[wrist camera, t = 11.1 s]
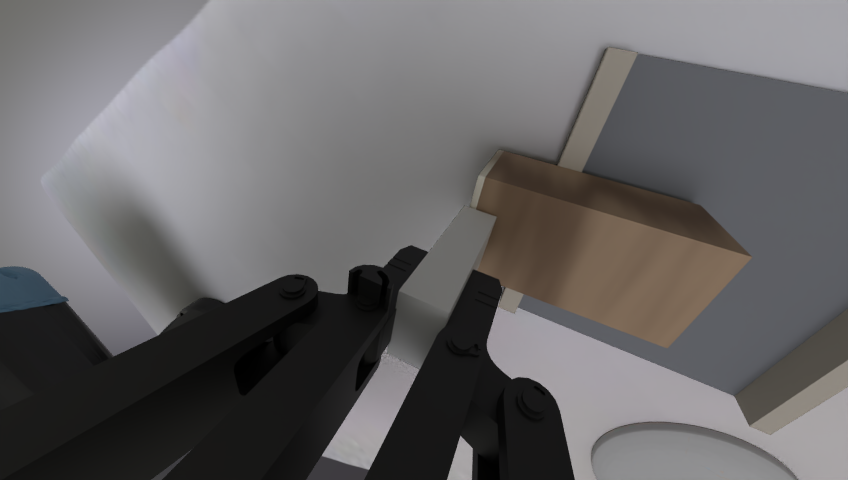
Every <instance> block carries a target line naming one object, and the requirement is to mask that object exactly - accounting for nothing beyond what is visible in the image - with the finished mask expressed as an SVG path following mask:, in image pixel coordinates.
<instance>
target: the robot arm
mask: <svg viewBox="0 0 848 480" xmlns="http://www.w3.org/2000/svg"><path fill="white" fill-rule="evenodd" d="M496 218H497V217H496V216H493V215H490V214H487V213H484V212H481V211H479V210H476V209H473V208H470V207H467V206H464V207H463V208H462V210H461V211H460V212H459V214H458V215H457V216H456V217H455V219H454V220H453V221H452V223H451V224H450V225H449V226H448V228H447V229H446V230H445V232H444V233H443V234H442V235H441V237H440V238H439V239H438V241H437V242H436V243H435V245H434V246H433V247H432V248H431V250H430V251H429V252H427V251H424V250H422V249H419V248H417V247H414V246H412V245H410V246H408V247H406V248H403V249H401V250H399V252H398V253H397V254H396V255H395V256H394V257H393V258H392V259H391V260H390V261H389V262H388V264H386V265H385V266H384V267H383V268H382V267H378V266H375V265H362V266H357V267H355V268H353V269H351V270H350V271H349V280H348V293H347V294H333V293H327V292H322V291H318V285H317V283H316V282H315V281H314V279H312V278H310V277H308V276H305V275H299V274H296V275H287V276H284V277H281V278H278V279H276V280H274V281H272V282H270V283H268V284H266V285H264V286H262V287H259V288H257V289H255V290H253V291H251V292H249V293H247V294H245V295H243V296H241V297H238V298H236V299H234V300H232V301H230V302H228V303H226V304H222V303H220V302H218V301H216V300H213V299H208V298H202V299H199V300H197V301H195V302H194V303H192V304H190V305H189V306H187V307H186V308H184V309H183V310H182V311H181V312H180V313H179V314H178V315H177V318H176V319H175V320H174V321H173V322H172V323H170V324H169V325H168V326H167V327H166V328H165V329H164V330H163V331H162V332H161V333H160V335H158V336H156V337H154V338H152V339H150V340H148V341H146V342H144V343H142V344H139V345H137V346H135V347H133V348H131V349H129V350H127V351H125V352H123V353H120V354H118V355H117V356H113V355H112V353H110V351H109V350H108V349H107V348H106V347H105V346H104V344H103V343H102V342H101V341H100V340H99V339H98V338H97V336H96V335H95V334H94V333H93V332H92V331H91V330H90V329H89V327H88V326H87V325H86V324H85V323H84V322H83V321H82V320H81V318H80V317H79V316H78V315H77V314H76V313H75V312H74V310H73V309H72V308H71V307H70V306H69V305H68V304H67V302H66V301H69V300H68V298H66V297H63V296H61V295H60V294H59V293H58V292H57V291H56V290H55V289H54V288H53V287H52V286H51V285H50V284H49V283H48V282H47V281H46V280H45V279H44V278H43V277H42V276H41V275H40V274H39V273H37V272H36V271H34V270H31V269H28V268H24V267H15V266H14V267H13V266H12V267H2V268H0V480H151V479H152V478H154V477H155V476H156V475H158V474H159V473H160V472H162V471H163V470H164V469H166V468H167V467H169V466H170V465H171V464H173V463H174V462H175V461H177V460H178V459H179V458H181V457H182V456H183V455H185V454H186V453H187V452H188V451H190V450H191V449H192V450H191V451H190V452H189V453H188V454H187V455H186V456H185V457H184V458H183V459H182V460H181V461H180V463H178V464H177V465H176V466H175V467H174V468H173V469H172V470H171V471H170V472H169V473H168V474H167V476H166V477H164V478H163V479H162V480H306V479H307V477H308V476H309V474H310V473H311V471H312V470H313V468H314V466H315V465H316V463H317V462H318V460H319V459H320V457H321V456H322V454H323V452H324V451H325V449H326V448H327V446H328V445H329V443H330V441H331V440H332V438H333V437H334V435H335V434H336V432H337V431H338V429H339V427H340V426H341V424H342V423H343V421H344V420H345V418H346V416H347V415H348V413H349V412H350V410H351V409H352V407H353V406H354V404H355V402H356V401H357V399H358V398H359V396H360V395H361V393H362V391H363V390H364V388H365V387H366V385H367V384H368V382H369V381H370V379H371V377H372V376H373V374H374V373H375V371H376V370H377V368H378V366H379V363H380V360H381V355H382V353H383V352H384V350H385V348H386V347H387V345H388V344H389V345H388V350H387V353H388V354H390V355H392V356H394V357H396V358H398V359H400V360H402V361H404V362H406V363H408V364H410V365H412V366H414V367H416V368H418V369H420V370H419V372H418V374H417V376H416V378H415V380H414V382H413V384H412V386H411V388H410V390H409V392H408V394H407V396H406V398H405V400H404V402H403V404H402V406H401V408H400V410H399V412H398V414H397V416H396V418H395V420H394V422H393V424H392V426H391V428H390V430H389V432H388V434H387V436H386V438H385V440H384V442H383V444H382V446H381V448H380V450H379V452H378V454H377V456H376V458H375V460H374V462H373V464H372V466H371V467H370V469H369V471H368V474H367V476H366V477H365V480H447V478H448V474H449V471H450V468H451V464H452V461H453V458H454V455H455V451H456V448H457V445H458V441H459V438H460V436H461V437H462V438H463V439H464V440H465V441H466V442H467V443H468V444H469V445H470V446H471V447H472V448H473V465H472V480H575V478H574V474H573V469H572V465H571V460H570V455H569V451H568V446H567V442H566V437H565V432H564V428H563V423H562V419H561V414H560V410H559V408H558V405H557V403H556V400H555V399H554V397H553V396H552V395H551V393H550V392H549V391H548V390H547V389H546V388H545V387H543V386H542V385H541V384H540V383H538V382H536V381H534V380H531V379H529V378H521V377H518V378H515V379H511V378H510V377H508V376H507V375H506V374H505V373H504V372H502V371H501V370H500V369H499V368H498V367H497V366H496V365H495V364H494V362H493V361H492V360H491V358H490V356H489V354H488V351H487V339H488V335H489V332H490V329H491V326H492V322H493V319H494V316H495V312H496V309H497V306H498V303H499V299H500V296H501V293H502V287H501V284H500V280H499V279H497V278H494V277H492V276H489V275H487V274H484V273H482V272H479V271H477V270H478V267H479V265H480V262H481V260H482V257H483V254H484V251H485V248H486V246H487V243H488V240H489V237H490V235H491V232H492V229H493V226H494V223H495V221H496Z"/></svg>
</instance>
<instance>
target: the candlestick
mask: <svg viewBox="0 0 848 480" xmlns="http://www.w3.org/2000/svg"><path fill="white" fill-rule="evenodd" d="M592 468H593V471H594V474H595V477H596V479H597V480H798V479H797V478H796V477H795V475H794V474H793V473H792V472H791V471H790V470H789V469H788V468H787V467H786V466H785V465H783V464H782V463H781V462H780V461H778V460H777V459H776V458H774V457H773V456H771V455H770V454H768V453H766V452H765V451H763V450H761V449H759V448H758V447H756V446H754V445H752V444H750V443H747V442H745V441H743V440H740V439H738V438H735V437H733V436H730V435H727V434H724V433H721V432H718V431H714V430H711V429H706V428H702V427H697V426H692V425H686V424H678V423H666V422H648V423H637V424H631V425H626V426H622V427H619V428H616V429H614V430H611V431H609V432H608V433H606V434H604V435H603V436H602V437H601V438H599V440H598V441H597V442H596V443H595V445H594V447H593V450H592Z"/></svg>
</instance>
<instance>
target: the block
mask: <svg viewBox="0 0 848 480" xmlns="http://www.w3.org/2000/svg"><path fill="white" fill-rule="evenodd" d="M470 208H473V209H476V210H479V211H481V212H484V213H487V214H490V215H493V216H496V217H497V218H496V221H495V223H494V226H493V229H492V232H491V235H490V237H489V240H488V243H487V246H486V248H485V251H484V254H483V257H482V260H481V262H480V265H479V267H478V270H477V271H479V272H482V273H484V274H487V275H489V276H492V277H494V278H497V279H499V280H500V284H501V286H504V287H506V288H509V289H511V290H514V291H517V292H519V293H522V294H525V295H527V296H530V297H533V298H535V299H538V300H541V301H543V302H546V303H548V304H551V305H554V306H556V307H559V308H562V309H564V310H567V311H570V312H572V313H575V314H578V315H580V316H583V317H585V318H588V319H591V320H593V321H596V322H599V323H601V324H604V325H607V326H609V327H612V328H615V329H617V330H620V331H622V332H625V333H628V334H630V335H633V336H636V337H638V338H641V339H644V340H646V341H649V342H652V343H654V344H657V345H659V346H662V347H665V348H668V347H669V346H670V345H671V344H672V343H673V342H674V341H675V340H676V339H677V338H678V337H679V336H680V334H681V333H682V332H683V331H684V330H685V329H686V328H687V327H688V326H689V325H690V324H691V323H692V322H693V320H694V319H695V318H696V317H697V316H698V315H699V314H700V313H701V312H702V311H703V310H704V309H705V308H706V307H707V305H708V304H709V303H710V302H711V301H712V300H713V299H714V298H715V297H716V296H717V295H718V294H719V293H720V292H721V290H722V289H723V288H724V287H725V286H726V285H727V284H728V283H729V282H730V281H731V280H732V279H733V278H734V277H735V275H736V274H737V273H738V272H739V271H740V270H741V269H742V268H743V267H744V266H745V265H746V264H747V263H748V261H749V260H750V259H751V258H752V256H751V255H750V254H749V253H748V252H747V251H746V250H745V249H744V248H743V247H742V246H741V245H740V244H739V243H738V242H737V241H736V240H735V239H734V238H733V237H732V236H731V235H730V234H729V233H728V232H727V231H726V230H725V229H724V228H723V227H722V226H721V225H720V224H719V223H718V222H717V221H716V220H715V219H714V218H713V217H712V216H711V215H710V214H709V213H708V212H707V211H706V210H705V209H704V208H703V207H702V206H701V205H698V204H694V203H691V202H687V201H684V200H680V199H676V198H673V197H669V196H665V195H662V194H658V193H655V192H651V191H647V190H644V189H640V188H636V187H633V186H629V185H626V184H622V183H618V182H615V181H611V180H607V179H604V178H600V177H597V176H593V175H589V174H586V173H582V172H578V171H575V170H571V169H568V168H564V167H560V166H557V165H553V164H549V163H546V162H542V161H538V160H535V159H531V158H528V157H524V156H520V155H517V154H513V153H509V152H506V151H502V150H498V151H497V152H496V154H495V155H494V156H493V157H492V159H491V160H490V161H489V162H488V164H487V165H486V166H485V168H484V169H483V170H482V171H481V173H480V174H479V175H478V179H477V182H476V186H475V189H474V193H473V197H472V200H471V204H470Z"/></svg>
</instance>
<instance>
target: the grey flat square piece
mask: <svg viewBox="0 0 848 480" xmlns="http://www.w3.org/2000/svg"><path fill="white" fill-rule="evenodd" d="M557 166H560V167H564V168H568V169H571V170H575V171H578V172H582V173H586V174H589V175H593V176H597V177H600V178H604V179H607V180H611V181H615V182H618V183H622V184H626V185H629V186H633V187H636V188H640V189H644V190H647V191H651V192H655V193H658V194H662V195H665V196H669V197H673V198H676V199H680V200H684V201H687V202H691V203H694V204H698V205H701V206H702V207H703V208H704V209H705V210H706V211H707V212H708V213H709V214H710V215H711V216H712V217H713V218H714V219H715V220H716V221H717V222H718V223H719V224H720V225H721V226H722V227H723V228H724V229H725V230H726V231H727V232H728V233H729V234H730V235H731V236H732V237H733V238H734V239H735V240H736V241H737V242H738V243H739V244H740V245H741V246H742V247H743V248H744V249H745V250H746V251H747V252H748V253H749V254H750V255H751V256H752V258H751V259H750V260H749V261H748V263H747V264H746V265H745V266H744V267H743V268H742V269H741V270H740V271H739V272H738V273H737V274H736V275H735V277H734V278H733V279H732V280H731V281H730V282H729V283H728V284H727V285H726V286H725V287H724V288H723V289H722V290H721V292H720V293H719V294H718V295H717V296H716V297H715V298H714V299H713V300H712V301H711V302H710V303H709V304H708V305H707V307H706V308H705V309H704V310H703V311H702V312H701V313H700V314H699V315H698V316H697V317H696V318H695V319H694V320H693V322H692V323H691V324H690V325H689V326H688V327H687V328H686V329H685V330H684V331H683V332H682V333H681V334H680V336H679V337H678V338H677V339H676V340H675V341H674V342H673V343H672V344H671V345H670V346H669V347H668V348H665V347H662V346H659V345H657V344H654V343H652V342H649V341H646V340H644V339H641V338H638V337H636V336H633V335H630V334H628V333H625V332H622V331H620V330H617V329H615V328H612V327H609V326H607V325H604V324H601V323H599V322H596V321H593V320H591V319H588V318H585V317H583V316H580V315H578V314H575V313H572V312H570V311H567V310H564V309H562V308H559V307H556V306H554V305H551V304H548V303H546V302H543V301H541V300H538V299H535V298H533V297H530V296H527V295H525V294H522V293H519V292H517V291H514V290H511V289H509V288H506V287H505V289H504V291H503V294H502V296H501V299H500V302H499V306H498V307H500V308H502V309H504V310H507V311H509V312H512V313H514V314H515V312H516V309H517V307H518V308H521V309H523V310H526V311H528V312H530V313H533V314H535V315H538V316H540V317H543V318H545V319H548V320H550V321H552V322H555V323H557V324H560V325H562V326H565V327H567V328H570V329H572V330H574V331H577V332H579V333H582V334H584V335H587V336H589V337H592V338H594V339H596V340H599V341H601V342H604V343H606V344H609V345H611V346H613V347H616V348H618V349H621V350H623V351H626V352H628V353H631V354H633V355H635V356H638V357H640V358H643V359H645V360H648V361H650V362H653V363H655V364H657V365H660V366H662V367H665V368H667V369H670V370H672V371H675V372H677V373H679V374H682V375H684V376H687V377H689V378H692V379H694V380H697V381H699V382H701V383H704V384H706V385H709V386H711V387H714V388H716V389H719V390H721V391H723V392H726V393H728V394H731V395H733V396H735V398H736V400H737V402H738V404H739V406H740V408H741V410H742V412H743V414H744V416H745V418H746V420H747V422H748V424H749V426H750V427H752V428H755V429H757V430H760V431H762V432H764V433H767V434H769V435H771V434H773V433H774V432H776V431H778V430H779V429H781V428H782V427H784V426H786V425H787V424H789V423H790V422H792V421H794V420H795V419H797V418H799V417H800V416H802V415H803V414H805V413H807V412H808V411H810V410H811V409H813V408H815V407H816V406H818V405H819V404H821V403H823V402H824V401H826V400H828V399H829V398H831V397H832V396H834V395H836V394H837V393H839V392H840V391H842V390H844V389H845V388H847V387H848V93H844V92H839V91H833V90H828V89H822V88H817V87H812V86H806V85H801V84H796V83H790V82H785V81H780V80H774V79H769V78H764V77H758V76H753V75H748V74H742V73H737V72H731V71H726V70H721V69H715V68H710V67H705V66H699V65H694V64H689V63H683V62H678V61H673V60H667V59H662V58H657V57H651V56H646V55H640V54H638V53H637V52H632V51H626V50H621V49H616V48H610V47H608V48H607V49H606V50H605V53H604V55H603V58H602V60H601V62H600V65H599V67H598V69H597V72H596V74H595V76H594V79H593V81H592V84H591V86H590V88H589V91H588V93H587V95H586V98H585V100H584V102H583V105H582V107H581V110H580V112H579V114H578V117H577V119H576V121H575V124H574V126H573V128H572V131H571V133H570V136H569V138H568V140H567V143H566V145H565V147H564V150H563V152H562V154H561V157H560V159H559V162H558V164H557Z"/></svg>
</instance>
